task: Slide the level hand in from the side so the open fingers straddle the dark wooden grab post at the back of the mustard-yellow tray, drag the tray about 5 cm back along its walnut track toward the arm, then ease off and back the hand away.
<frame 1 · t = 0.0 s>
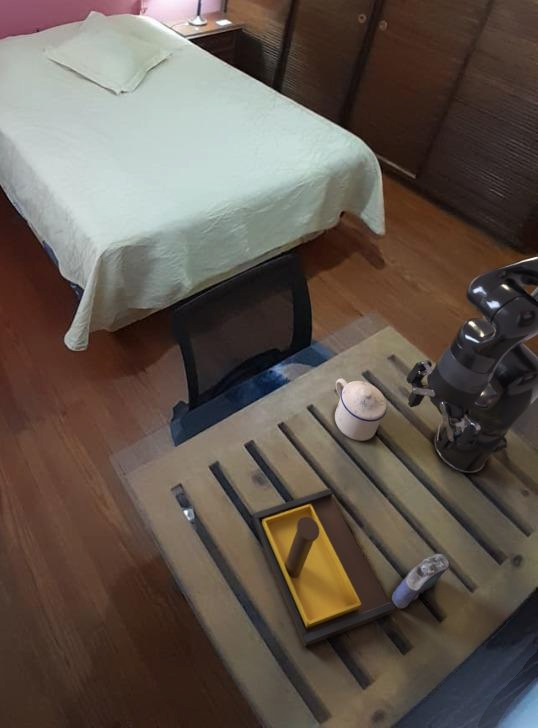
hand: (428, 425, 100), 17 cm above the table, tool pointing down, fingers open, 8 cm apart
tray: (315, 544, 91), point 10 cm above the table, slide at 0.0 cm
teacup with lid: (350, 417, 120), on the table
track: (317, 563, 98), on the table
flask: (411, 589, 95), on the table
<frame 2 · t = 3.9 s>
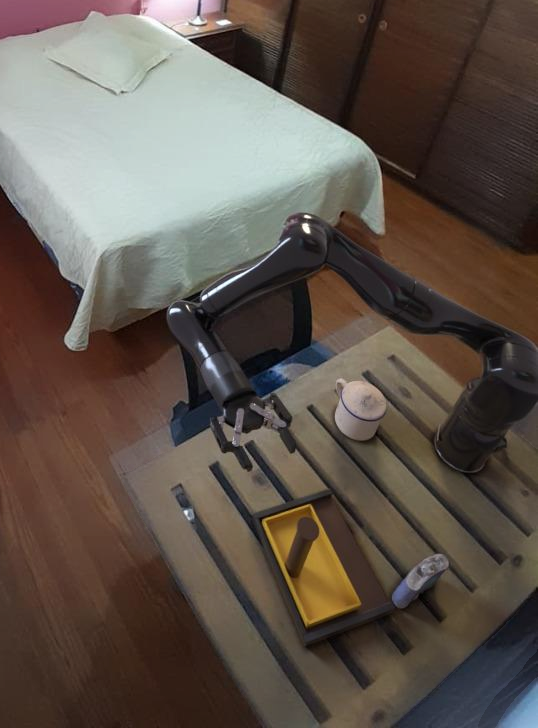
hand: (272, 460, 93), 20 cm above the table, tool horizontal, fingers open, 8 cm apart
nothing on the table moved.
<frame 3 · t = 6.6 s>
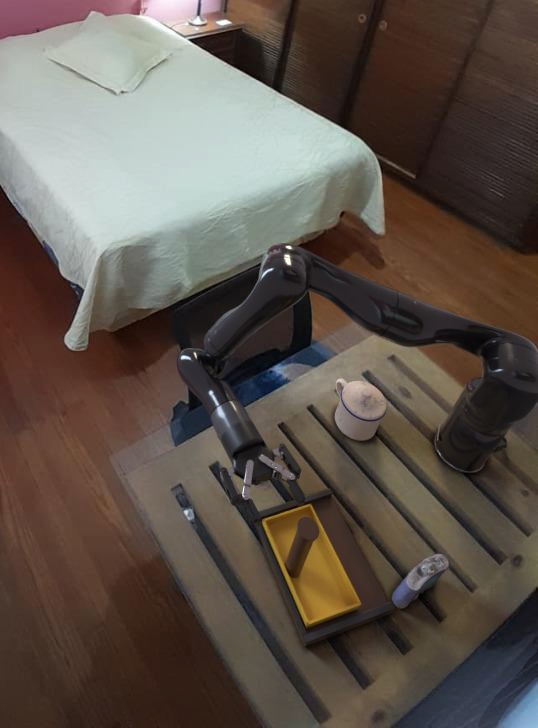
hand: (281, 513, 95), 11 cm above the table, tool horizontal, fingers open, 8 cm apart
nothing on the table moved.
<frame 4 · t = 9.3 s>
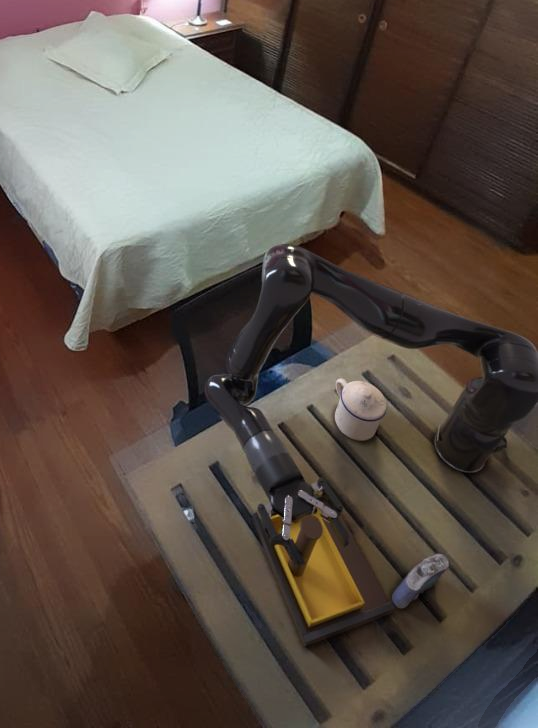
hand: (324, 555, 89), 11 cm above the table, tool horizontal, fingers open, 8 cm apart
tray: (318, 543, 92), point 10 cm above the table, slide at 0.6 cm, touching gripper
everything else where it was.
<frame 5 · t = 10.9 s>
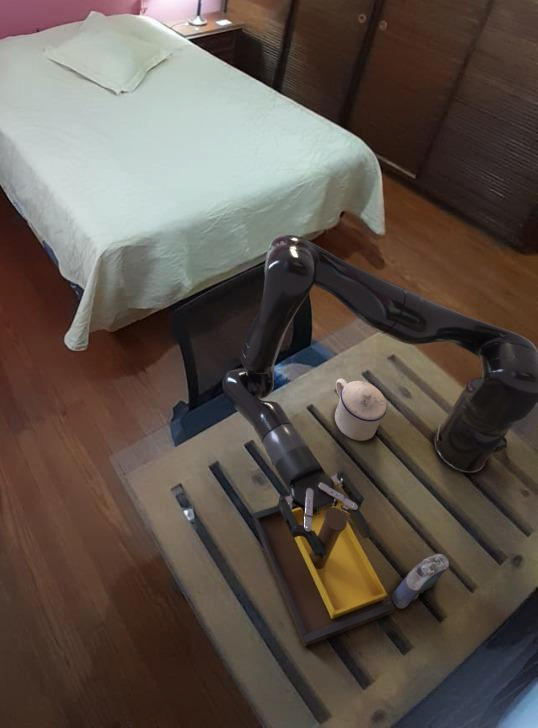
hand: (346, 546, 90), 11 cm above the table, tool horizontal, fingers open, 8 cm apart
tray: (341, 535, 92), point 10 cm above the table, slide at 4.9 cm
everything else where it was.
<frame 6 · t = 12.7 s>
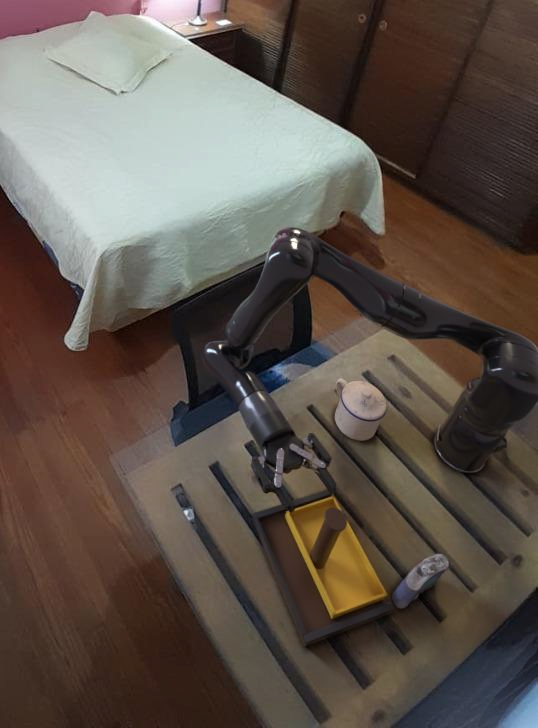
hand: (313, 501, 96), 11 cm above the table, tool horizontal, fingers open, 8 cm apart
nothing on the table moved.
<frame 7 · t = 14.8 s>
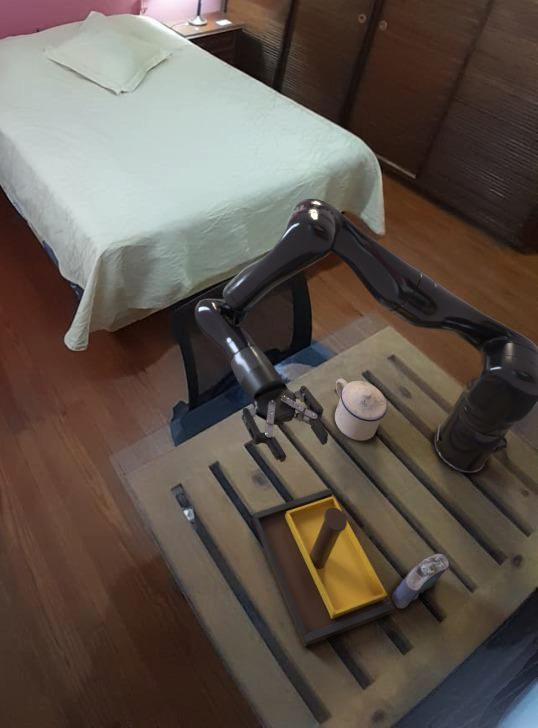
hand: (305, 450, 95), 19 cm above the table, tool horizontal, fingers open, 8 cm apart
nothing on the table moved.
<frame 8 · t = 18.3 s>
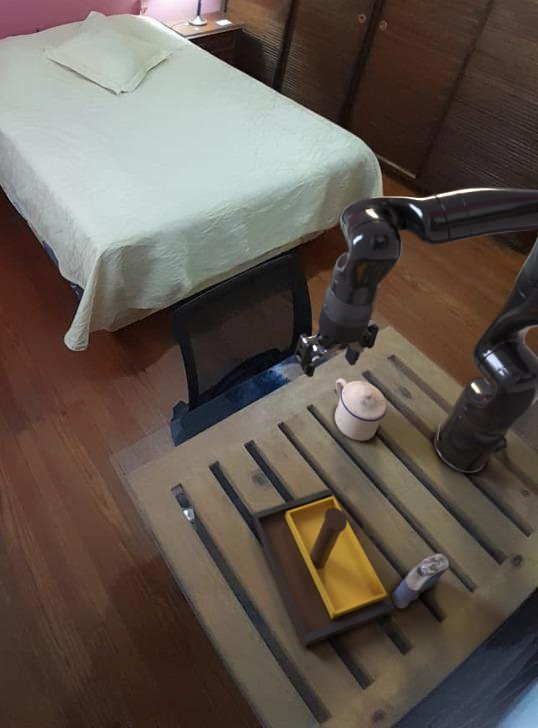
hand: (328, 367, 98), 28 cm above the table, tool pointing down, fingers open, 8 cm apart
nothing on the table moved.
at the end: tray slide at 4.9 cm; the gripper is holding nothing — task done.
